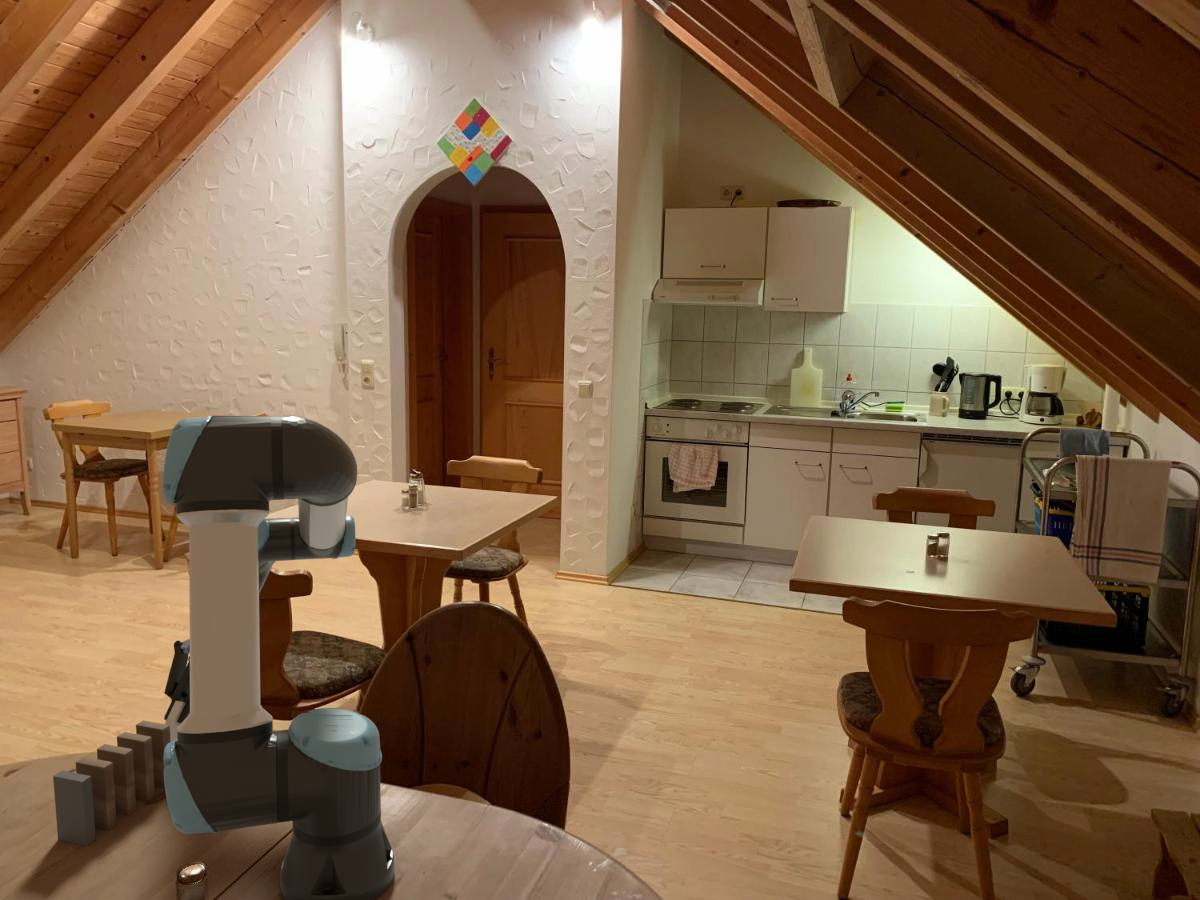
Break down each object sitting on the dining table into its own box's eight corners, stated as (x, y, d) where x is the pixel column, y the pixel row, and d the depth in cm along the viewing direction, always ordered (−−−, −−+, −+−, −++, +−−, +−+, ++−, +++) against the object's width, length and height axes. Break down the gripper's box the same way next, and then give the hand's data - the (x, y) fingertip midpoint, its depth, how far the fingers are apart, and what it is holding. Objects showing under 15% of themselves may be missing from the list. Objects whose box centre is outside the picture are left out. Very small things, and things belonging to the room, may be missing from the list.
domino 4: (128, 790, 144) (124, 731, 142) (154, 795, 143) (151, 736, 141) (120, 795, 142) (116, 736, 140) (147, 800, 141) (144, 741, 139)
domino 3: (108, 803, 140) (104, 743, 138) (136, 809, 139) (132, 749, 137) (100, 809, 138) (96, 749, 137) (128, 815, 137) (124, 754, 135)
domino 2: (88, 818, 136) (84, 756, 134) (116, 823, 135) (112, 762, 133) (80, 823, 135) (75, 762, 133) (108, 830, 133) (104, 767, 132)
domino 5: (146, 777, 148) (143, 720, 146) (172, 782, 146) (169, 725, 145) (139, 782, 146) (135, 724, 144) (165, 787, 145) (162, 729, 143)
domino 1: (67, 833, 132) (62, 770, 131) (95, 839, 131) (91, 776, 129) (58, 839, 131) (53, 776, 129) (86, 845, 130) (82, 782, 128)
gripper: (269, 624, 162) (211, 755, 149) (206, 615, 165) (144, 743, 153) (249, 606, 156) (187, 741, 143) (185, 597, 159) (119, 728, 147)
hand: (165, 742), depth 148 cm, fingers closed
